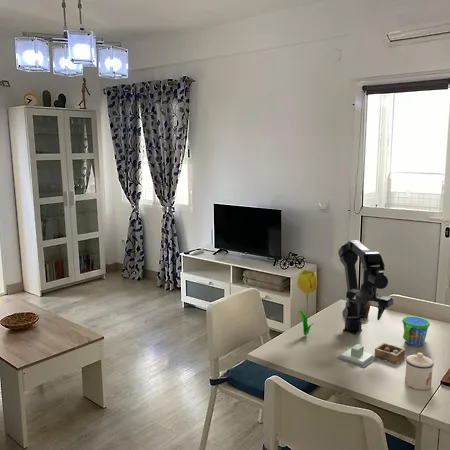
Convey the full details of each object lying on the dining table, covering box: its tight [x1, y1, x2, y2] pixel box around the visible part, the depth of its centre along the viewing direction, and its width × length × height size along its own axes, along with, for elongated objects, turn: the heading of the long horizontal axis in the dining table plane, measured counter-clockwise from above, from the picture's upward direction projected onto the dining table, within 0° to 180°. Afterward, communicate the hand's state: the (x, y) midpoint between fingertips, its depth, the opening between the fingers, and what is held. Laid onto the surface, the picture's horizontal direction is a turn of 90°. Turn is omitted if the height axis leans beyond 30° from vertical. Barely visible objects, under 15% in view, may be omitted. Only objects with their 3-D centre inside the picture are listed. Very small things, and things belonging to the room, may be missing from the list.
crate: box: [374, 342, 406, 365], centre depth 185 cm, size 9×8×4 cm
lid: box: [340, 343, 374, 365], centre depth 184 cm, size 9×8×4 cm
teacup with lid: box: [404, 352, 435, 391], centre depth 165 cm, size 12×9×12 cm
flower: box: [296, 269, 318, 336], centre depth 203 cm, size 9×8×30 cm
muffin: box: [364, 301, 372, 319], centre depth 229 cm, size 12×11×10 cm
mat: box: [336, 350, 379, 369], centre depth 184 cm, size 12×11×1 cm
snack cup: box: [402, 316, 431, 347], centre depth 197 cm, size 16×10×10 cm
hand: (368, 317), depth 194 cm, fingers open, 9 cm apart
